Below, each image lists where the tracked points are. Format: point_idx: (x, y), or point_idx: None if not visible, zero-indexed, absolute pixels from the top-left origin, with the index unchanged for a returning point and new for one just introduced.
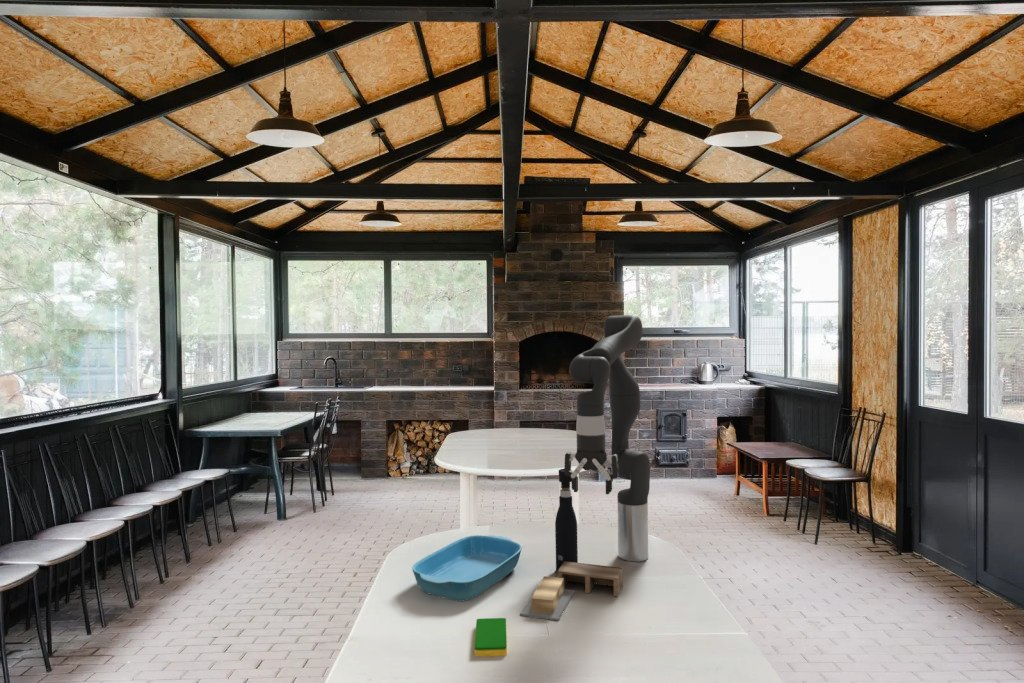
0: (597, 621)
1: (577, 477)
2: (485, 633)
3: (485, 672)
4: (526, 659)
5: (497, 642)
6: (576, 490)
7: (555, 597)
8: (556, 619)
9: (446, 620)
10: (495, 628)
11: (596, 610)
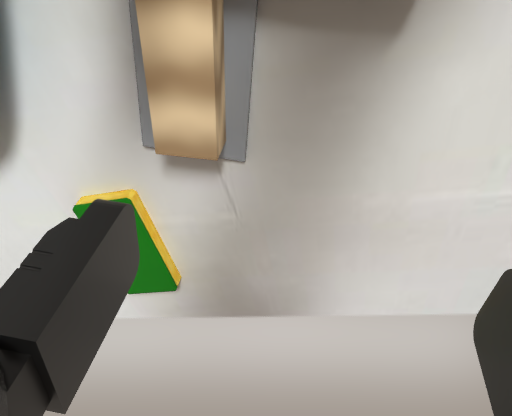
0: (347, 149)
1: (45, 365)
2: None
3: (168, 314)
4: (218, 286)
5: (155, 281)
6: (131, 277)
7: (217, 124)
8: (240, 159)
9: (6, 181)
10: None
11: (344, 88)
